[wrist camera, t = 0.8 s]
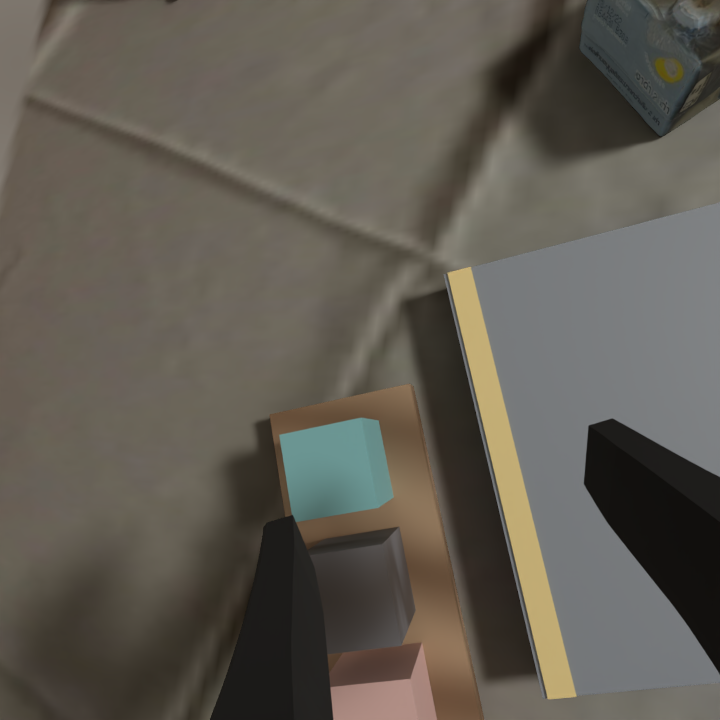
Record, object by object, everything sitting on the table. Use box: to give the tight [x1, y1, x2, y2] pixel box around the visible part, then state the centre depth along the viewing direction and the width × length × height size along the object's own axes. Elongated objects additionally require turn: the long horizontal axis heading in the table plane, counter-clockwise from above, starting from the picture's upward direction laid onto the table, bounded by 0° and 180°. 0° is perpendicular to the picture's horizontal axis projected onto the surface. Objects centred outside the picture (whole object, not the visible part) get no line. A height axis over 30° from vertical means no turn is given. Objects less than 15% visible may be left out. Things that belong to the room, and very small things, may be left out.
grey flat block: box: [444, 203, 720, 699], centre depth 24 cm, size 20×14×3 cm
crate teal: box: [279, 418, 394, 522], centre depth 25 cm, size 4×4×4 cm
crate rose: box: [329, 642, 437, 720], centre depth 23 cm, size 4×4×4 cm
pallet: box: [270, 384, 484, 720], centre depth 25 cm, size 18×8×6 cm, turn 11°
